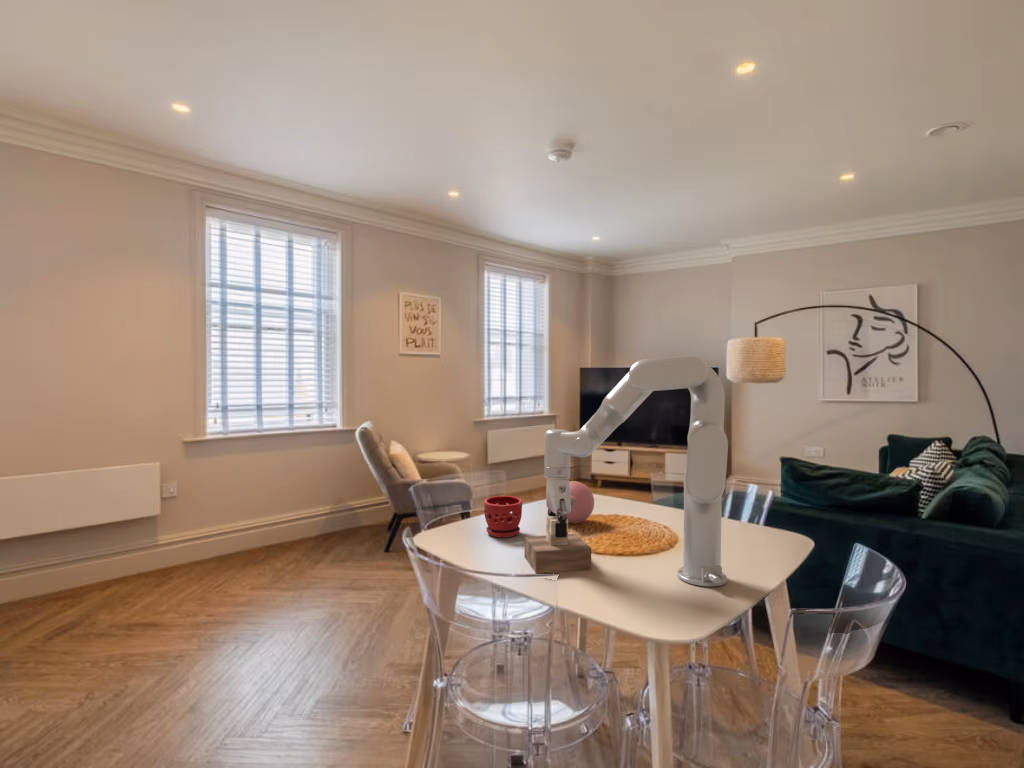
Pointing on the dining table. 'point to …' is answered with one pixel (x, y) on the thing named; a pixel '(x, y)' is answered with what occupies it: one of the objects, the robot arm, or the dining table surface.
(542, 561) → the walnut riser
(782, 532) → the dining table surface
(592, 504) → the balloon
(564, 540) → the birch block
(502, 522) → the plant pot
